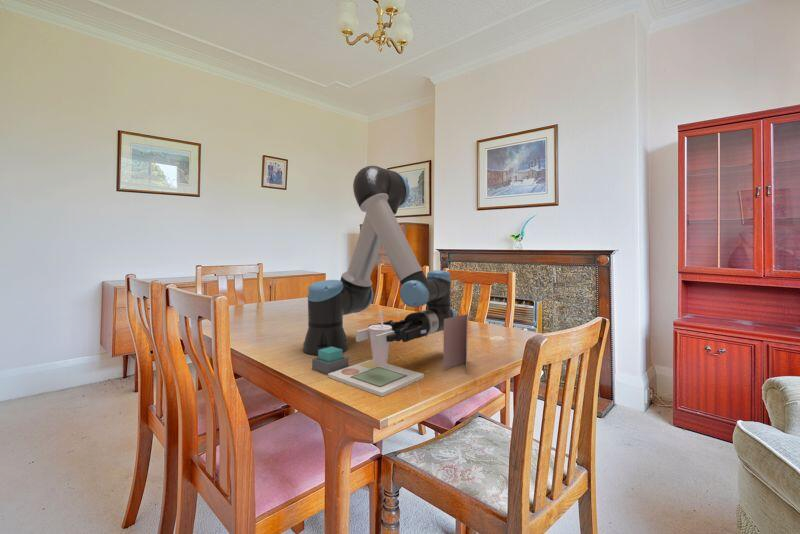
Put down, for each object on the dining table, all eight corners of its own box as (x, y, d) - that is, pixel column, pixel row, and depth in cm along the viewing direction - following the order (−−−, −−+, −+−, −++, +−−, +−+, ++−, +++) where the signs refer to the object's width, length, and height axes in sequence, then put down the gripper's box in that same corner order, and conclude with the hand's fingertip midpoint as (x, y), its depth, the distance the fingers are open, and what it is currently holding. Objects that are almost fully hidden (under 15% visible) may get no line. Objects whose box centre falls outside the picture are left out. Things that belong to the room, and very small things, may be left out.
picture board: (328, 377, 102) (328, 373, 102) (371, 362, 115) (371, 358, 115) (382, 396, 89) (382, 392, 89) (424, 377, 102) (424, 373, 102)
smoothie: (389, 367, 96) (389, 313, 95) (365, 365, 97) (364, 312, 96) (394, 359, 102) (394, 309, 101) (371, 358, 103) (371, 308, 103)
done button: (318, 360, 109) (318, 350, 108) (331, 356, 112) (331, 346, 112) (329, 363, 105) (329, 353, 105) (342, 359, 109) (342, 349, 109)
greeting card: (464, 361, 117) (465, 313, 116) (484, 366, 112) (485, 317, 111) (440, 369, 109) (441, 318, 108) (461, 376, 104) (462, 322, 103)
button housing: (312, 369, 109) (312, 358, 108) (332, 362, 114) (332, 353, 114) (328, 374, 104) (328, 364, 104) (348, 368, 109) (348, 358, 109)
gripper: (447, 341, 107) (395, 360, 89) (396, 331, 119) (341, 346, 102) (447, 315, 107) (395, 329, 89) (396, 308, 119) (341, 319, 101)
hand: (366, 338), depth 95 cm, fingers closed on smoothie, 6 cm apart
